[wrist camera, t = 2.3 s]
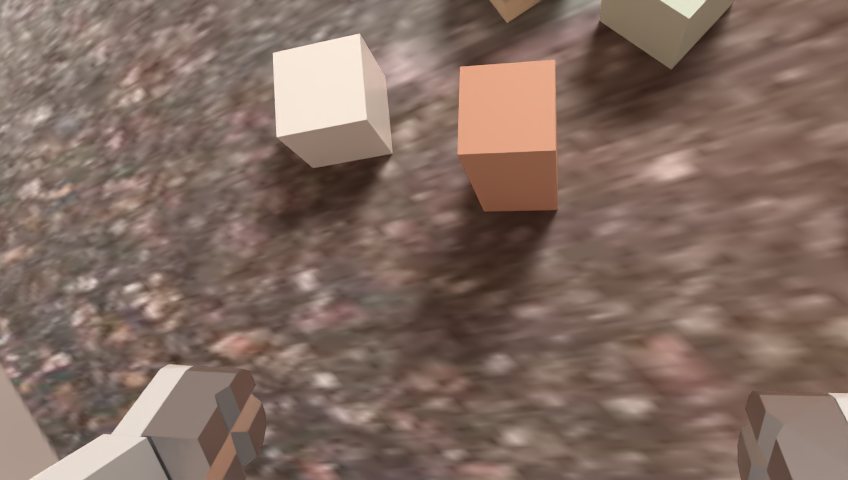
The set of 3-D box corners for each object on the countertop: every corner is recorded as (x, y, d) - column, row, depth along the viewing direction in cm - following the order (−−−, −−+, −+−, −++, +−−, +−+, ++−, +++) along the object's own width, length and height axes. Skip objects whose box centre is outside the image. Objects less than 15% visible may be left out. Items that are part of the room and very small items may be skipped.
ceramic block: (385, 77, 37) (359, 33, 33) (392, 154, 36) (366, 119, 31) (309, 93, 38) (272, 52, 34) (313, 168, 37) (276, 137, 32)
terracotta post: (557, 140, 34) (554, 59, 25) (557, 209, 33) (555, 150, 25) (485, 143, 35) (459, 66, 26) (484, 211, 34) (457, 154, 25)
